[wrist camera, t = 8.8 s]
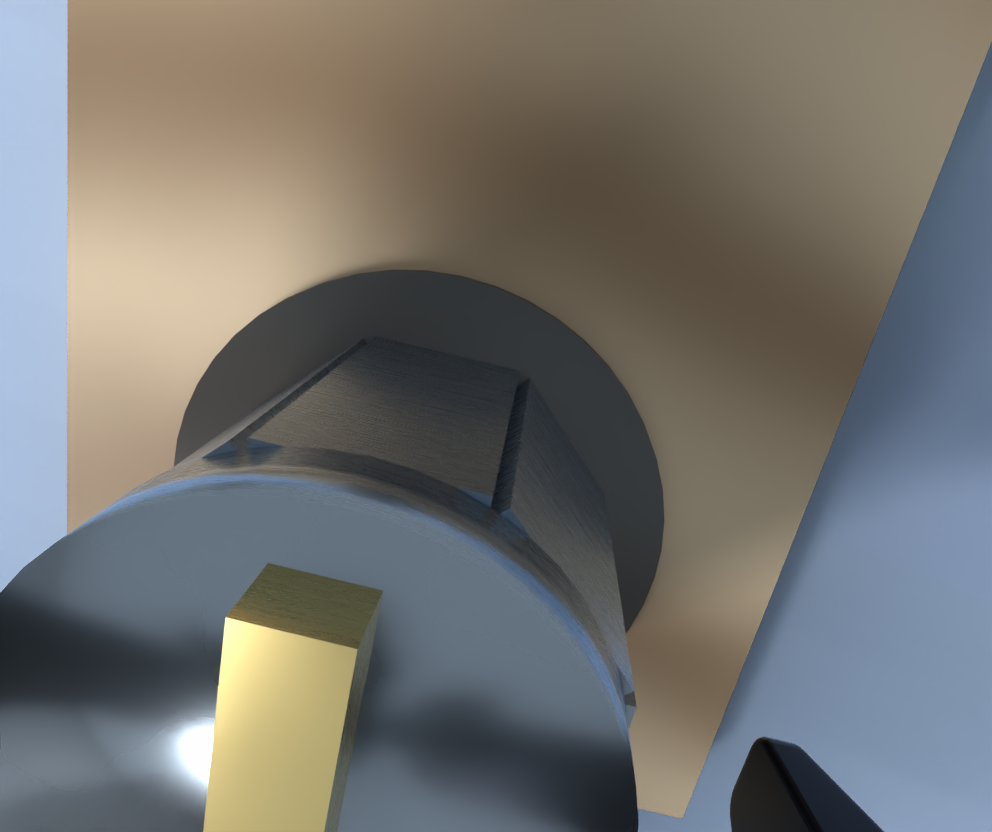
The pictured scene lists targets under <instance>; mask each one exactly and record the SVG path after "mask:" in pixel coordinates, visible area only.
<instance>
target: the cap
mask: <svg viewBox="0 0 992 832" xmlns="http://www.w3.org/2000/svg"><path fill="white" fill-rule="evenodd" d="M519 373H520V370H517V369H512V368H508V367H504V366H500V365H495V364H491V363H487V362H483V361H479V360H474V359H470V358H466V357H462V356H457V355H453V354H449V353H445V352H440V351H436V350H432V349H428V348H423V347H419V346H415V345H411V344H407V343H402V342H398V341H394V340H390V339H385V338H381V337H377V336H375V337H374V338H373V339H372V340H370V341H369V342H368V343H367V342H366V341H365V339H364V338H363V339H362V340H360V341H359V342H357V343H356V344H354V345H352V346H351V347H349V348H348V349H346V350H345V351H343V352H342V353H340V354H339V355H337V356H335V357H334V358H332V359H331V360H329V361H328V362H326V363H325V364H323V365H322V366H320V367H319V368H317V369H315V370H314V371H312V372H311V373H309V374H308V375H306V376H305V377H303V378H302V379H300V380H299V381H297V382H295V383H294V384H292V385H291V386H289V387H288V388H286V389H285V390H283V391H282V392H280V393H279V394H277V395H275V396H274V397H272V398H271V399H269V400H268V401H266V402H265V403H263V404H262V405H260V406H259V407H257V408H255V409H254V410H252V411H251V412H250V413H248V414H247V415H245V416H244V417H243V418H241V419H240V420H238V421H237V422H236V423H234V424H233V425H231V426H230V427H229V428H227V429H226V430H225V431H223V432H222V433H220V434H219V435H218V436H216V437H215V438H213V439H212V440H211V441H209V442H208V443H206V444H205V445H204V446H202V447H201V448H199V449H198V450H197V451H195V452H194V453H193V454H191V455H190V456H188V457H187V458H186V459H184V460H183V461H181V462H180V463H179V464H177V465H176V466H174V467H173V468H172V469H170V470H168V471H165V472H163V473H161V474H159V475H158V476H156V477H154V478H152V479H150V480H148V481H147V482H145V483H143V484H141V485H139V486H137V487H136V488H134V489H132V490H130V491H129V492H128V493H126V494H125V495H123V496H122V497H120V498H119V499H118V500H116V501H115V502H113V503H112V504H110V505H109V506H108V507H106V508H105V509H103V510H102V511H100V512H99V513H98V514H96V515H95V516H93V517H92V518H90V519H89V520H88V521H86V522H85V523H83V524H82V525H80V526H79V527H78V528H76V529H75V530H73V531H72V532H70V533H69V534H68V535H66V536H65V537H63V538H62V539H60V540H59V541H58V542H56V543H55V544H54V545H52V546H51V547H50V548H48V549H47V550H46V551H44V552H43V553H42V554H41V555H39V556H38V557H37V558H35V559H34V560H33V561H31V562H30V563H29V564H28V565H26V566H25V567H24V568H23V569H22V570H21V571H20V572H19V573H18V574H17V575H16V576H15V578H14V579H13V580H12V581H11V582H10V583H9V584H8V585H7V586H6V587H5V588H4V590H3V591H2V592H1V593H0V832H638V809H637V792H636V782H635V774H634V766H633V759H632V751H631V743H630V735H629V727H630V724H631V722H632V719H633V716H634V713H635V710H636V708H637V706H636V699H635V693H634V685H633V679H632V672H631V666H630V659H629V652H628V646H627V639H626V633H625V626H624V619H623V613H622V606H621V599H620V593H619V586H618V580H617V573H616V566H615V560H614V553H613V546H612V540H611V533H610V527H609V520H608V513H607V507H606V500H605V494H604V493H603V491H602V490H601V488H600V487H599V485H598V483H597V482H596V480H595V479H594V477H593V476H592V474H591V472H590V471H589V469H588V468H587V466H586V465H585V463H584V461H583V460H582V458H581V457H580V455H579V454H578V452H577V450H576V449H575V447H574V446H573V444H572V442H571V441H570V439H569V438H568V436H567V435H566V433H565V431H564V430H563V428H562V427H561V425H560V424H559V422H558V420H557V419H556V417H555V416H554V414H553V413H552V411H551V409H550V408H549V406H548V405H547V403H546V402H545V400H544V398H543V397H542V395H541V394H540V392H539V391H538V389H537V387H536V386H535V384H534V383H533V381H532V380H531V378H529V379H527V380H525V381H524V382H522V383H520V384H518V385H517V382H518V377H519Z"/></svg>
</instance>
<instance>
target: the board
mask: <svg viewBox="0 0 992 832" xmlns="http://www.w3.org/2000/svg"><path fill="white" fill-rule="evenodd" d="M991 43H992V0H68V296H67V535H68V534H69V533H70V532H72V531H73V530H75V529H76V528H78V527H79V526H80V525H82V524H83V523H85V522H86V521H88V520H89V519H90V518H92V517H93V516H95V515H96V514H98V513H99V512H100V511H102V510H103V509H105V508H106V507H108V506H109V505H110V504H112V503H113V502H115V501H116V500H118V499H119V498H120V497H122V496H123V495H125V494H126V493H128V492H129V491H130V490H132V489H134V488H136V487H137V486H139V485H141V484H143V483H145V482H147V481H148V480H150V479H152V478H154V477H156V476H158V475H159V474H161V473H163V472H165V471H168V470H170V469H172V468H173V467H174V466H176V465H177V464H179V463H180V462H181V461H183V460H184V459H186V458H187V457H188V456H190V455H191V454H193V453H194V452H195V451H197V450H198V449H199V448H201V447H202V446H204V445H205V444H206V443H208V442H209V441H211V440H212V439H213V438H215V437H216V436H218V435H219V434H220V433H222V432H223V431H225V430H226V429H227V428H229V427H230V426H231V425H233V424H234V423H236V422H237V421H238V420H240V419H241V418H243V417H244V416H245V415H247V414H248V413H250V412H251V411H252V410H254V409H255V408H257V407H259V406H260V405H262V404H263V403H265V402H266V401H268V400H269V399H271V398H272V397H274V396H275V395H277V394H279V393H280V392H282V391H283V390H285V389H286V388H288V387H289V386H291V385H292V384H294V383H295V382H297V381H299V380H300V379H302V378H303V377H305V376H306V375H308V374H309V373H311V372H312V371H314V370H315V369H317V368H319V367H320V366H322V365H323V364H325V363H326V362H328V361H329V360H331V359H332V358H334V357H335V356H337V355H339V354H340V353H342V352H343V351H345V350H346V349H348V348H349V347H351V346H352V345H354V344H356V343H357V342H359V341H360V340H362V339H363V338H364V339H365V341H366V342H367V343H368V342H369V341H370V340H372V339H373V338H374V337H375V336H377V337H381V338H385V339H390V340H394V341H398V342H402V343H407V344H411V345H415V346H419V347H423V348H428V349H432V350H436V351H440V352H445V353H449V354H453V355H457V356H462V357H466V358H470V359H474V360H479V361H483V362H487V363H491V364H495V365H500V366H504V367H508V368H512V369H517V370H520V373H519V377H518V382H517V385H518V384H520V383H522V382H524V381H525V380H527V379H529V378H531V380H532V381H533V383H534V384H535V386H536V387H537V389H538V391H539V392H540V394H541V395H542V397H543V398H544V400H545V402H546V403H547V405H548V406H549V408H550V409H551V411H552V413H553V414H554V416H555V417H556V419H557V420H558V422H559V424H560V425H561V427H562V428H563V430H564V431H565V433H566V435H567V436H568V438H569V439H570V441H571V442H572V444H573V446H574V447H575V449H576V450H577V452H578V454H579V455H580V457H581V458H582V460H583V461H584V463H585V465H586V466H587V468H588V469H589V471H590V472H591V474H592V476H593V477H594V479H595V480H596V482H597V483H598V485H599V487H600V488H601V490H602V491H603V493H604V494H605V500H606V507H607V513H608V520H609V527H610V533H611V540H612V546H613V553H614V560H615V566H616V573H617V580H618V586H619V593H620V599H621V606H622V613H623V619H624V626H625V633H626V639H627V646H628V652H629V659H630V666H631V672H632V679H633V685H634V693H635V699H636V706H637V708H636V710H635V713H634V716H633V719H632V722H631V724H630V727H629V735H630V743H631V751H632V759H633V766H634V774H635V782H636V792H637V808H638V809H643V810H647V811H651V812H655V813H660V814H664V815H668V816H672V817H677V818H681V819H683V816H684V814H685V811H686V809H687V806H688V804H689V801H690V799H691V796H692V794H693V791H694V788H695V786H696V783H697V781H698V778H699V776H700V773H701V771H702V768H703V766H704V763H705V761H706V758H707V756H708V753H709V751H710V748H711V746H712V743H713V741H714V738H715V736H716V733H717V731H718V728H719V726H720V723H721V721H722V718H723V716H724V713H725V711H726V708H727V706H728V703H729V701H730V698H731V696H732V693H733V691H734V688H735V686H736V683H737V680H738V678H739V675H740V673H741V670H742V668H743V665H744V663H745V660H746V658H747V655H748V653H749V650H750V648H751V645H752V643H753V640H754V638H755V635H756V633H757V630H758V628H759V625H760V623H761V620H762V618H763V615H764V613H765V610H766V608H767V605H768V603H769V600H770V598H771V595H772V593H773V590H774V588H775V585H776V583H777V580H778V578H779V575H780V573H781V570H782V567H783V565H784V562H785V560H786V557H787V555H788V552H789V550H790V547H791V545H792V542H793V540H794V537H795V535H796V532H797V530H798V527H799V525H800V522H801V520H802V517H803V515H804V512H805V510H806V507H807V505H808V502H809V500H810V497H811V495H812V492H813V490H814V487H815V485H816V482H817V480H818V477H819V475H820V472H821V470H822V467H823V465H824V462H825V459H826V457H827V454H828V452H829V449H830V447H831V444H832V442H833V439H834V437H835V434H836V432H837V429H838V427H839V424H840V422H841V419H842V417H843V414H844V412H845V409H846V407H847V404H848V402H849V399H850V397H851V394H852V392H853V389H854V387H855V384H856V382H857V379H858V377H859V374H860V372H861V369H862V367H863V364H864V362H865V359H866V357H867V354H868V352H869V349H870V346H871V344H872V341H873V339H874V336H875V334H876V331H877V329H878V326H879V324H880V321H881V319H882V316H883V314H884V311H885V309H886V306H887V304H888V301H889V299H890V296H891V294H892V291H893V289H894V286H895V284H896V281H897V279H898V276H899V274H900V271H901V269H902V266H903V264H904V261H905V259H906V256H907V254H908V251H909V249H910V246H911V244H912V241H913V238H914V236H915V233H916V231H917V228H918V226H919V223H920V221H921V218H922V216H923V213H924V211H925V208H926V206H927V203H928V201H929V198H930V196H931V193H932V191H933V188H934V186H935V183H936V181H937V178H938V176H939V173H940V171H941V168H942V166H943V163H944V161H945V158H946V156H947V153H948V151H949V148H950V146H951V143H952V141H953V138H954V136H955V133H956V130H957V128H958V125H959V123H960V120H961V118H962V115H963V113H964V110H965V108H966V105H967V103H968V100H969V98H970V95H971V93H972V90H973V88H974V85H975V83H976V80H977V78H978V75H979V73H980V70H981V68H982V65H983V63H984V60H985V58H986V55H987V53H988V50H989V48H990V45H991Z"/></svg>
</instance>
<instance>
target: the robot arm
mask: <svg viewBox="0 0 992 832" xmlns="http://www.w3.org/2000/svg"><path fill="white" fill-rule="evenodd" d="M730 819H731V828H732V832H884V831H883V830H882V829H881V828H880V827H879V826H878V825H877V824H876V823H875V822H874V821H873V820H872V819H871V818H870V817H869V816H868V815H867V814H866V813H865V812H864V811H863V810H862V809H861V808H860V807H859V806H858V805H857V804H856V803H855V802H854V801H853V800H852V799H851V798H850V797H849V796H848V795H847V794H846V793H845V792H844V791H843V790H842V789H841V788H840V787H839V786H838V785H837V784H836V783H835V782H834V781H833V780H832V779H831V778H830V777H829V776H828V775H827V774H826V773H825V772H824V771H823V770H822V769H821V768H820V766H819V765H818V764H817V763H816V762H815V761H814V760H813V759H812V758H811V757H810V756H809V755H808V754H807V753H806V752H805V751H804V750H803V749H801V748H800V747H799V746H797V745H795V744H793V743H789V742H785V741H780V740H776V739H772V738H768V737H762V738H759V739H757V740H756V741H755V742H754V744H753V745H752V747H751V749H750V752H749V754H748V756H747V759H746V761H745V763H744V766H743V768H742V771H741V773H740V775H739V778H738V780H737V782H736V785H735V787H734V790H733V792H732V797H731V803H730Z"/></svg>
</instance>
